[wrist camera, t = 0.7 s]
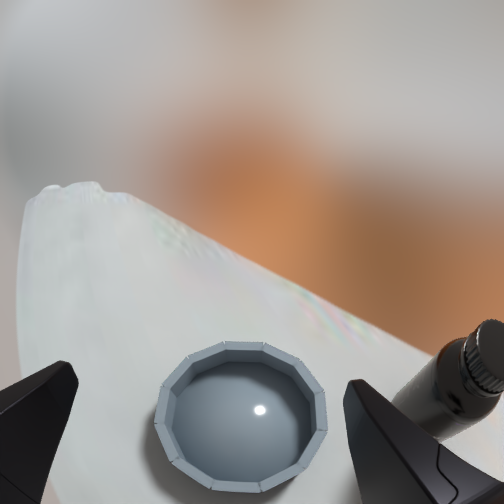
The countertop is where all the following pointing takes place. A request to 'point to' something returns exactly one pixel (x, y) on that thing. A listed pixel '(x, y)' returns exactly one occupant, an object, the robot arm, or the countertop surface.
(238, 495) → the countertop surface
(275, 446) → the bowl
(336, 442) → the countertop surface
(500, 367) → the supplement bottle
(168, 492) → the countertop surface
